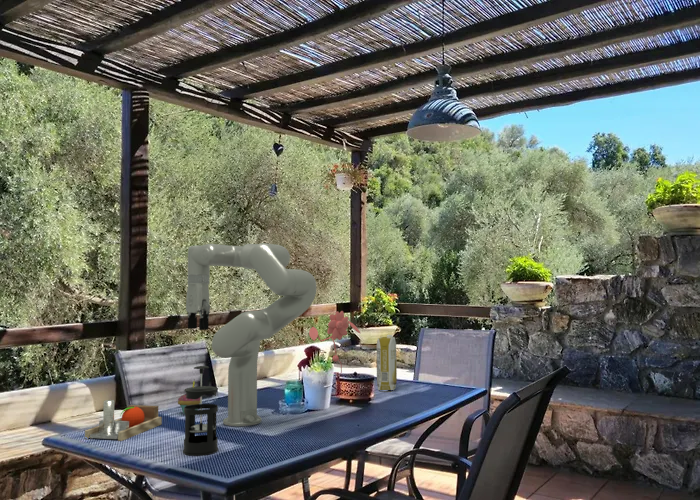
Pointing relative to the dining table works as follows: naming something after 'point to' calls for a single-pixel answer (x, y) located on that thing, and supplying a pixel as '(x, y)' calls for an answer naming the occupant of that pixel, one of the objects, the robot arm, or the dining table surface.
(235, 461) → the dining table surface
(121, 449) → the dining table surface
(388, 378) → the juice carton
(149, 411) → the wooden tray
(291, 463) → the dining table surface
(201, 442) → the french press
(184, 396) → the cupcake
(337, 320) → the pink artificial flower
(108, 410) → the press jaw
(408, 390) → the dining table surface
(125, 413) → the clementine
